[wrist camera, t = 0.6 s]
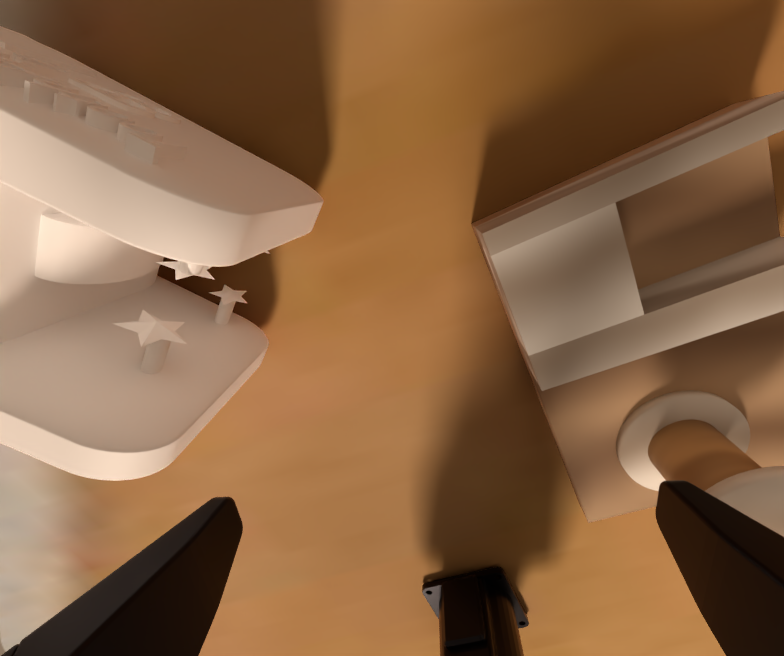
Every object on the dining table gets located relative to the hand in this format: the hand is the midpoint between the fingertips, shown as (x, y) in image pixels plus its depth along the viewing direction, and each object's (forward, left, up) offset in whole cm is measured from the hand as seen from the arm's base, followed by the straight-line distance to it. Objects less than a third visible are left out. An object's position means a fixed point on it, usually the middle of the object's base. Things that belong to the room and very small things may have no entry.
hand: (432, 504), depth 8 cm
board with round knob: (-7, -10, -14) cm, 18 cm away
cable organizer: (+10, +10, -14) cm, 20 cm away
